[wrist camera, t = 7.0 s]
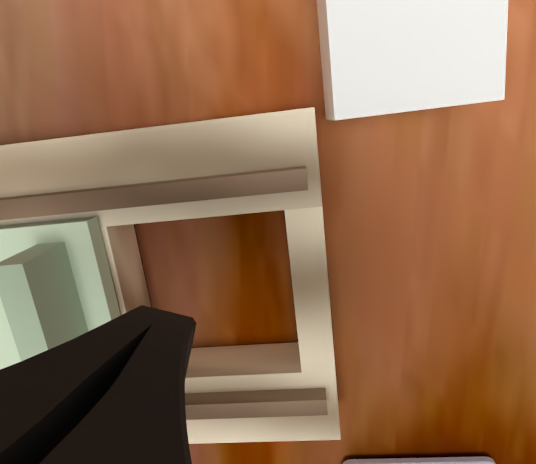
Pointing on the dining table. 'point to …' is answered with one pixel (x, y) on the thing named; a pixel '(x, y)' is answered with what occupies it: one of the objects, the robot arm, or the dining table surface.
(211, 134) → the sliding lid box
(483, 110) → the dining table surface
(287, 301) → the dining table surface
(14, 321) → the cover
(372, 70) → the grey block
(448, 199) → the dining table surface
